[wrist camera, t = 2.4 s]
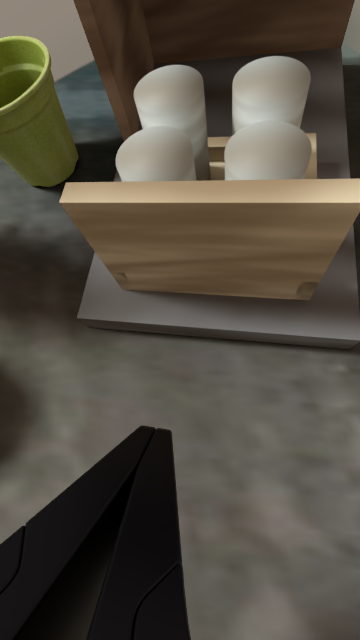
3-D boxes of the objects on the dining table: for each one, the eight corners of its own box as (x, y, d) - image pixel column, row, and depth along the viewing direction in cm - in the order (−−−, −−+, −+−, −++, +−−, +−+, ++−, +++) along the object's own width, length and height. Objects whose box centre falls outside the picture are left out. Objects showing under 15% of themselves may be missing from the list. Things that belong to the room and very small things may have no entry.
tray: (309, 300, 20) (365, 202, 12) (122, 289, 22) (59, 202, 14) (307, 162, 24) (348, 17, 16) (149, 165, 26) (113, 42, 18)
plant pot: (112, 165, 30) (69, 66, 22) (31, 218, 29) (-43, 136, 21) (69, 120, 34) (19, 21, 26) (-4, 167, 33) (-80, 79, 25)
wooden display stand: (349, 349, 20) (745, 56, 5) (88, 327, 24) (-178, 119, 8) (333, 64, 30) (444, -333, 15) (151, 79, 34) (83, -228, 18)
